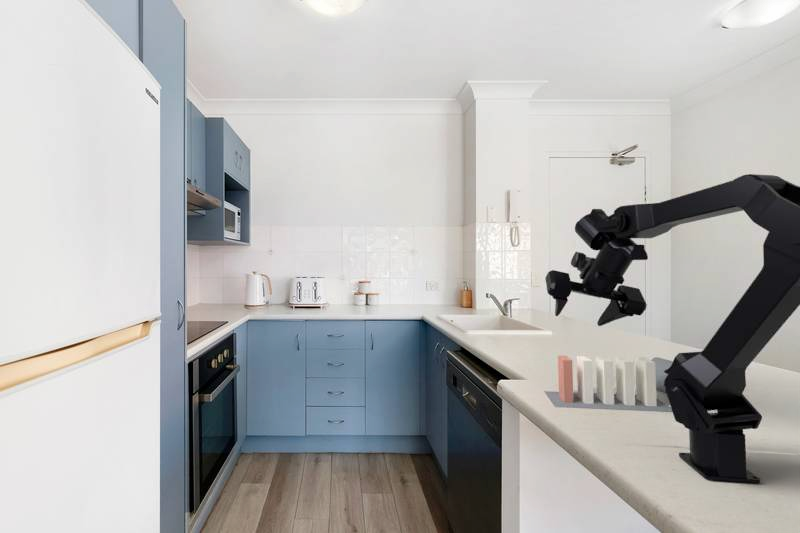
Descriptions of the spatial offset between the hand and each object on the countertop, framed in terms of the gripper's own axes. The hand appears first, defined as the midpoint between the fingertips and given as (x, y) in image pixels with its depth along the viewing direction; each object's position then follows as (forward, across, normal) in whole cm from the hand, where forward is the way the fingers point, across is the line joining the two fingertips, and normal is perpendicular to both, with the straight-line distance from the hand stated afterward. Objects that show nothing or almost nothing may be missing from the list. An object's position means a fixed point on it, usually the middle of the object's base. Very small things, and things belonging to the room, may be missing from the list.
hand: (577, 319), depth 79 cm
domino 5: (+10, -17, +10) cm, 22 cm away
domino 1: (+13, -1, +12) cm, 18 cm away
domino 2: (+12, -5, +11) cm, 17 cm away
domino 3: (+12, -9, +11) cm, 18 cm away
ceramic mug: (+14, -27, +2) cm, 31 cm away
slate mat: (+12, -9, +11) cm, 18 cm away
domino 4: (+11, -13, +10) cm, 20 cm away
